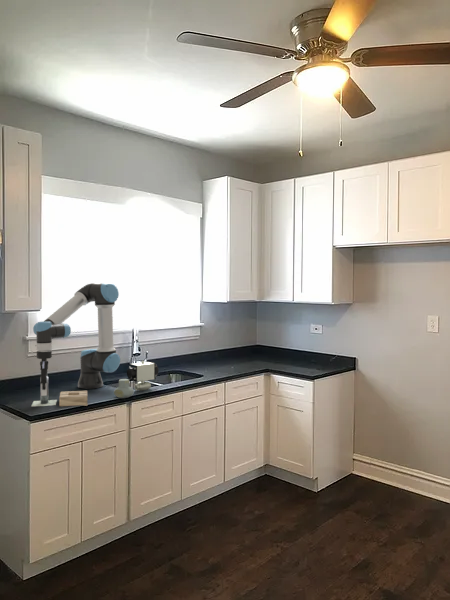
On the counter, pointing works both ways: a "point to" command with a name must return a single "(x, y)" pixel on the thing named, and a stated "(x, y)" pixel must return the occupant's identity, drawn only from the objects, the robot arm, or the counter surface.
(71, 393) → the block
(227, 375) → the counter surface
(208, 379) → the counter surface
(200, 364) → the counter surface
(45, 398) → the pin
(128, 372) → the white boxy device
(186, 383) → the counter surface
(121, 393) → the air freshener
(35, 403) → the mat
